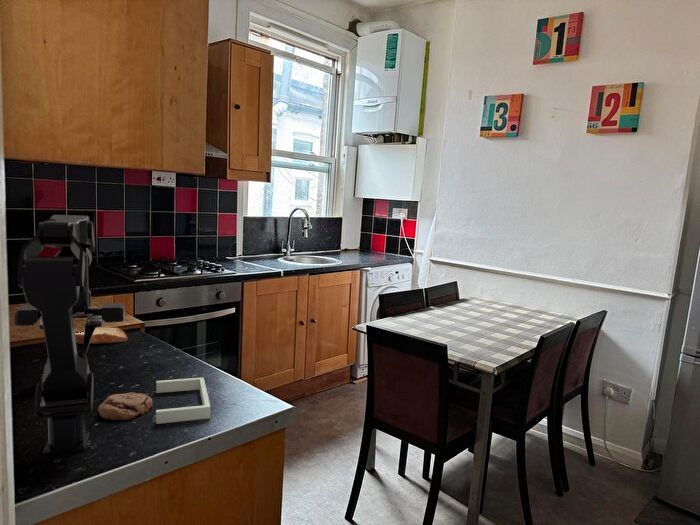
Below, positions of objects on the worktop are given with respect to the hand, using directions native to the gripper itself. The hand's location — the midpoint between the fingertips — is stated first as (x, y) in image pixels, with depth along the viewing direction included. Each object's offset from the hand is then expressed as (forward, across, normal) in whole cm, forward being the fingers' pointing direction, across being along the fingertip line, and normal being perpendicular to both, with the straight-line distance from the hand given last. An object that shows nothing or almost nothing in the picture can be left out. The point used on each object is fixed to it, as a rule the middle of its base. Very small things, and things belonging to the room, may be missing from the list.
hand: (73, 355), depth 101 cm
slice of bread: (+13, +4, -54) cm, 55 cm away
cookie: (+13, -10, 0) cm, 16 cm away
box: (+12, -20, 0) cm, 24 cm away
